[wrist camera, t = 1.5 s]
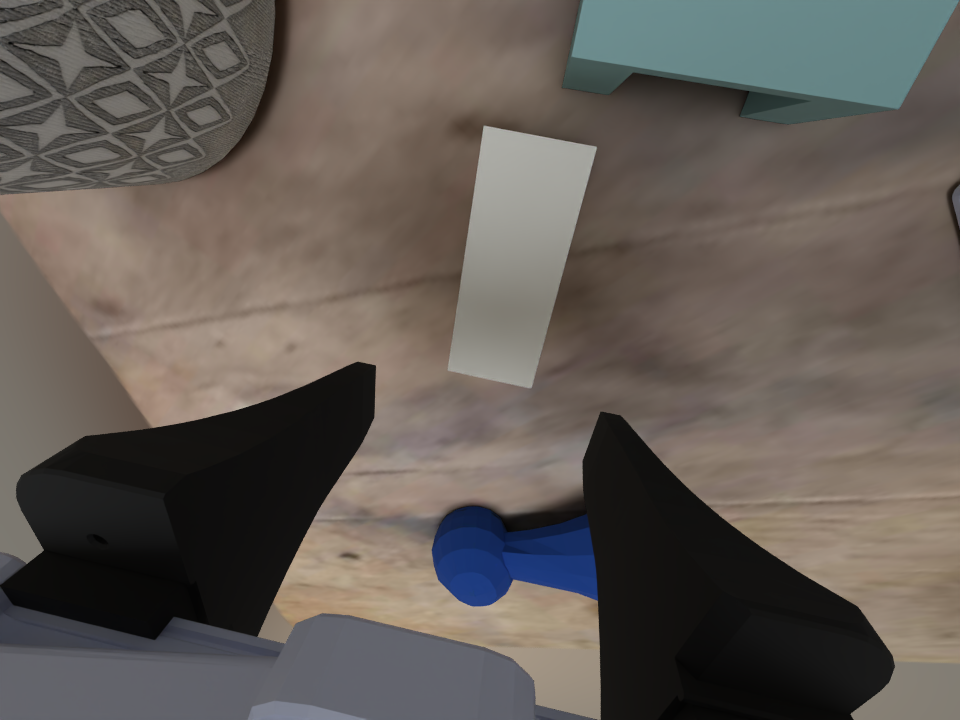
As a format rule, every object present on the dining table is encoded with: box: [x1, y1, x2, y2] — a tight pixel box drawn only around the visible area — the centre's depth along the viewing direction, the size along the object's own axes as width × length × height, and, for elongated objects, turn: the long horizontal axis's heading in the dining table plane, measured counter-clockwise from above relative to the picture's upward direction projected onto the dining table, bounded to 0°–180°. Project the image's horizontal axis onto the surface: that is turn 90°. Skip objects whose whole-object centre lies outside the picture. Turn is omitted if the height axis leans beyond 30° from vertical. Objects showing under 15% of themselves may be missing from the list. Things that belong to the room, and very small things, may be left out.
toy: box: [432, 506, 598, 606], centre depth 25 cm, size 7×6×15 cm
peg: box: [448, 126, 597, 388], centre depth 18 cm, size 10×4×4 cm, turn 170°
